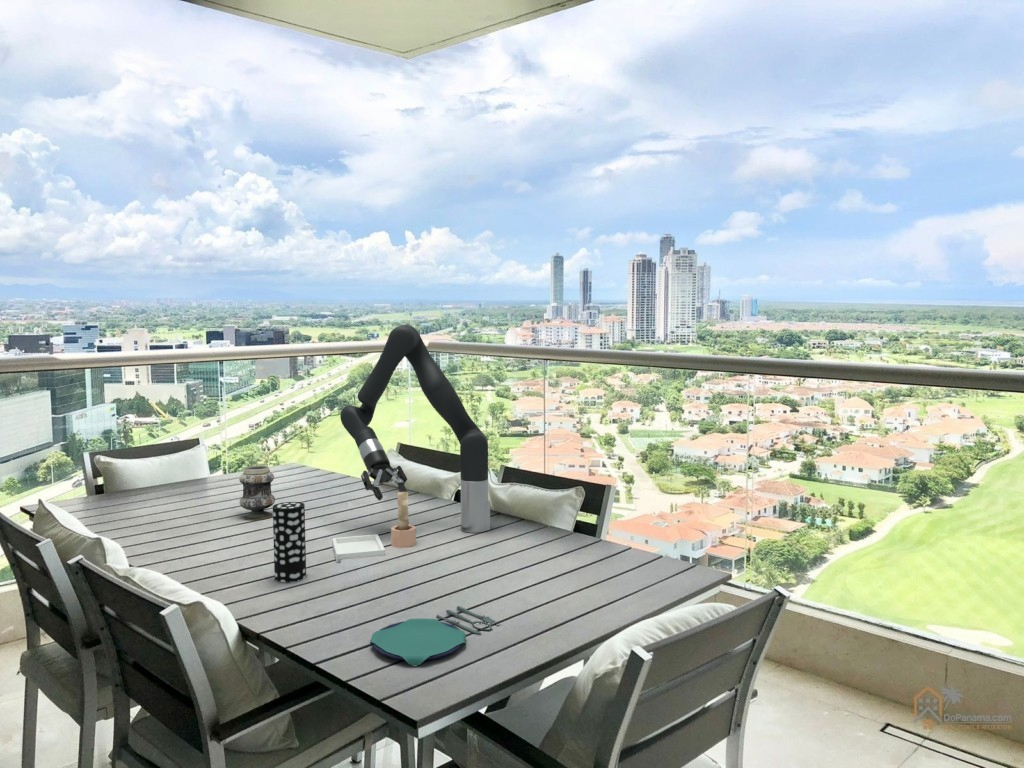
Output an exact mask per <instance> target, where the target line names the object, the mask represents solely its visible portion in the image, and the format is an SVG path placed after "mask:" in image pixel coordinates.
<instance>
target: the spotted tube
mask: <svg viewBox="0 0 1024 768" xmlns="http://www.w3.org/2000/svg"><path fill="white" fill-rule="evenodd" d="M305 508H306V507H305V503H304V502H301V501H285V502H280V503H279V502H278V503H276V504H275V503H274V504H273V505H272V526H273V527H272V528H273V529H272V531H273V532H272V533H273V567H274V568H273V569H274V570H273V571H274V580H275V581H276V580H277V581H276V582H278V581H280V582H279V583H294V582H293V581H295V582H299V581H302V580H304V579H305V578H306V577H307V557H306V556H307V553H306V552H307V549H306V545H307V544H306V517H305V516H306V515H305V514H306V511H305V510H306V509H305ZM298 580H299V581H298Z"/></svg>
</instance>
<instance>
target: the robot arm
mask: <svg viewBox="0 0 1024 768" xmlns="http://www.w3.org/2000/svg"><path fill="white" fill-rule="evenodd" d="M404 358H406V359H407V361H408V362H409V364H410V365H411V366H412V369H413V370H414V372H415V375H416V377H417V378H416V379H417V381H418V384H419V386H420V389H421V391H422V393H423V394H424V396H425V397H426V399H427V400H428V402H429V404H430V405H431V406H432V407H433V409H434V410H435V411H436V413H438V415H439V416H440V417H441V418H442V419H443V420H444V421H445V422H446V423H447V424H448V425H449V427H450V428H451V430H452V431H453V433H454V435H455V437H456V439H457V441H458V443H459V445H460V446H459V458H460V459H459V461H460V465H459V468H460V469H459V471H460V472H459V474H460V530H461V531H462V532H465V533H473V534H474V533H475V534H476V533H483V532H486V531H491V502H490V501H489V443H488V438H487V436H486V435H485V433H483V431H482V430H481V429H480V428H479V427H478V426H477V424H476V423H475V422H474V420H473V419H472V418H471V416H470V415H469V414H468V412H467V409H466V408H465V406H464V404H463V402H462V400H461V398H460V396H459V395H458V393H457V391H456V390H455V389H454V387H453V385H452V383H451V382H450V381H449V379H448V377H447V376H446V375H445V374H444V372H443V371H442V369H441V368H440V366H439V365H438V364H437V363H436V361H435V360H434V359H433V357H432V355H431V354H430V352H429V350H428V348H427V346H426V345H425V342H424V341H423V339H422V336H421V335H420V333H419V331H418V330H417V329H416V327H415V326H412V325H410V324H402V325H398V326H396V327H394V328H393V329H392V330H391V331H390V332H389V335H388V337H387V340H386V342H385V346H384V347H383V350H382V352H381V354H380V357H379V358H378V361H377V362H376V364H375V366H374V367H373V369H372V370H371V372H370V373H369V375H368V376H367V378H366V379H365V382H364V383H363V385H361V388H360V389H359V392H358V393H357V396H356V397H357V401H359V402H360V403H361V405H360V406H356V405H347V406H344V407H343V408H342V409H341V411H340V416H339V417H340V421H341V424H342V426H343V428H344V429H345V430H346V431H347V433H348V434H349V435H350V436H351V437H352V439H353V440H354V441H355V444H356V446H357V449H358V451H359V454H360V457H361V459H362V461H363V464H364V466H365V468H366V470H363V471H362V473H361V475H360V478H361V480H362V484H363V486H364V488H365V490H366V491H371V492H373V495H374V497H375V499H377V501H382V499H383V498H384V496H383V493H382V491H381V489H380V487H379V486H378V485H379V484H383V483H390V484H392V485H395V486H397V488H398V491H399V492H408V490H407V487H406V486H405V484H406V483H407V481H408V476H406V474H405V472H404V470H403V468H402V466H400V465H397V467H393V466H391V463H390V460H389V458H388V455H387V453H386V451H385V449H384V447H383V445H382V443H381V442H380V440H379V438H378V437H377V434H376V432H375V430H374V429H373V428H372V427H371V426H369V425H370V424H371V422H372V420H373V417H374V414H375V410H376V407H377V404H378V402H379V400H380V399H381V398H382V396H383V394H384V392H385V391H386V388H387V387H388V385H389V383H390V380H391V378H392V376H393V374H394V373H395V370H396V368H397V367H398V365H399V364H400V363H401V361H403V359H404ZM370 478H371V479H372V480H373V482H371V479H370Z"/></svg>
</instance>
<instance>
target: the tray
mask: <svg viewBox="0 0 1024 768" xmlns="http://www.w3.org/2000/svg"><path fill="white" fill-rule="evenodd" d="M331 540H332V545H333V546H332V545H331V546H332V549H334V550H333V553H335V554H334V557H336V558H335V561H336V563H338V564H340V563H339V562H341V563H342V561H341V560H346V559H348V560H349V559H358V558H367V557H369V558H371V557H379V556H381V557H382V556H386V549H385V546H384V544H383V543H382V541H381V538H380V536H379V534H365V535H354V536H345V537H344V536H342V537H333V538H332V539H331Z"/></svg>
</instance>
